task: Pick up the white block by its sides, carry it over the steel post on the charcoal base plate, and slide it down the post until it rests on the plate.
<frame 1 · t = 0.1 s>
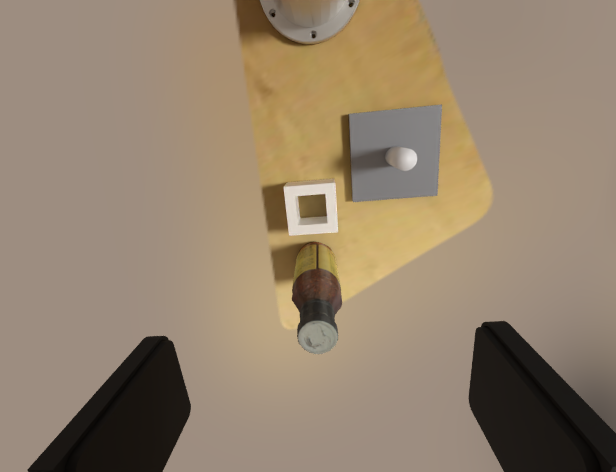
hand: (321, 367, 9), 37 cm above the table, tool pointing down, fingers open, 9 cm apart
white block: (312, 203, 45), on the table
sauce bottle: (317, 257, 48), on the table
post base: (393, 155, 42), on the table
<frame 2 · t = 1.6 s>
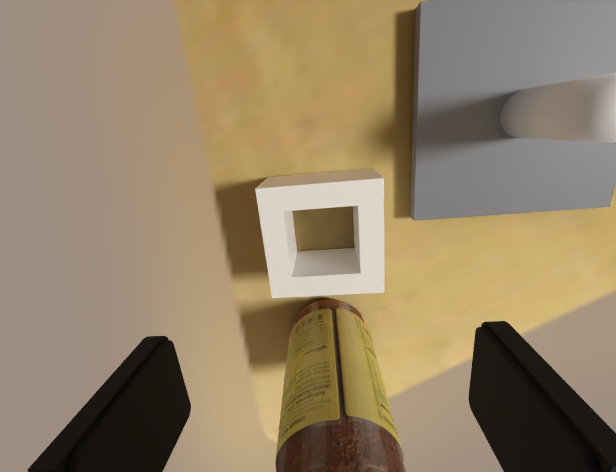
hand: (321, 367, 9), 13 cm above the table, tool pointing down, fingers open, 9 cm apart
white block: (323, 222, 21), on the table
sauce bottle: (331, 326, 24), on the table
post base: (513, 114, 18), on the table
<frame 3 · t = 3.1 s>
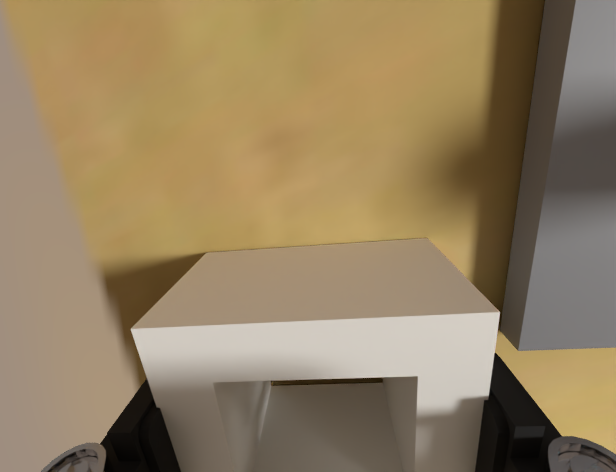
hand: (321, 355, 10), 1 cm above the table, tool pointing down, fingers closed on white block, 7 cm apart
white block: (321, 337, 10), on the table, touching gripper
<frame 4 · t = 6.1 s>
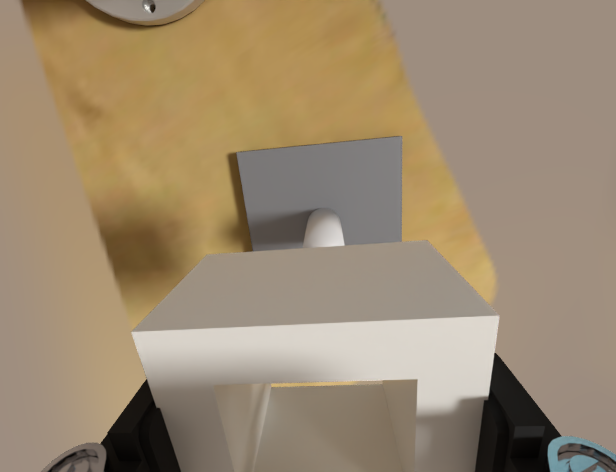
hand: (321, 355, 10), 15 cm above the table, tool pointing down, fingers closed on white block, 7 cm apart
white block: (321, 339, 11), point 15 cm above the table, touching gripper
post base: (323, 220, 24), on the table
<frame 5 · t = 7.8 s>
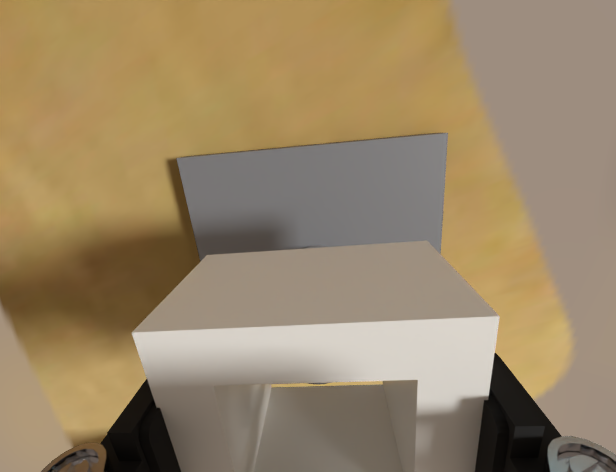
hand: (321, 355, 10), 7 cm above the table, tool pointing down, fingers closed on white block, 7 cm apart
white block: (322, 339, 11), point 6 cm above the table, touching gripper
post base: (318, 260, 16), on the table
when the fingers open (3 cm above the table, at t = 9.1 s): white block stays where it is, resting on post base.
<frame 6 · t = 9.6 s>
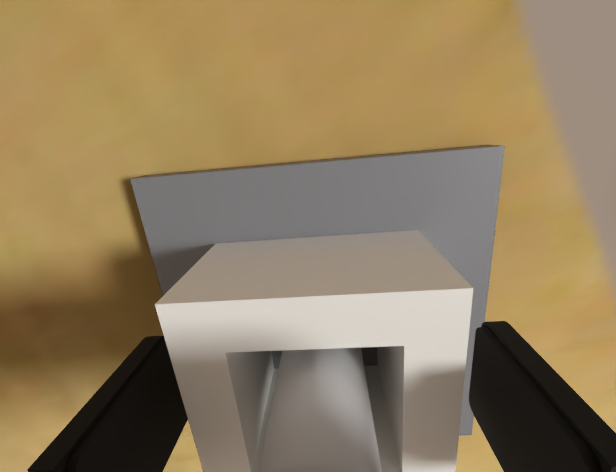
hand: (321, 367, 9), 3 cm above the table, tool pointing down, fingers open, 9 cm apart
white block: (321, 323, 11), point 1 cm above the table, touching post base
post base: (322, 308, 12), on the table
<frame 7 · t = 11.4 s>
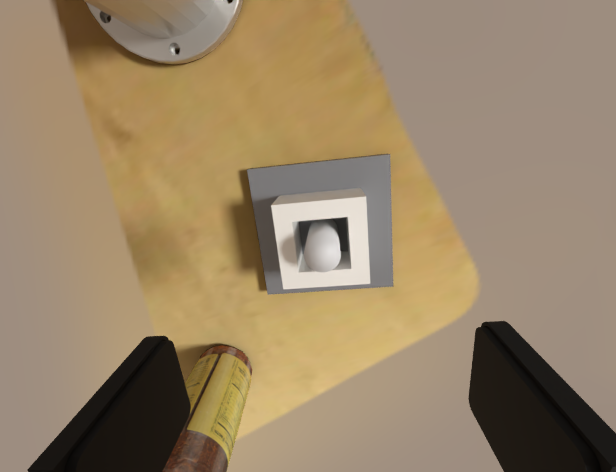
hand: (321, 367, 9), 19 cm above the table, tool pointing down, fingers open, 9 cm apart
white block: (323, 230, 27), point 1 cm above the table, touching post base
sauce bottle: (229, 363, 33), on the table
post base: (323, 227, 28), on the table
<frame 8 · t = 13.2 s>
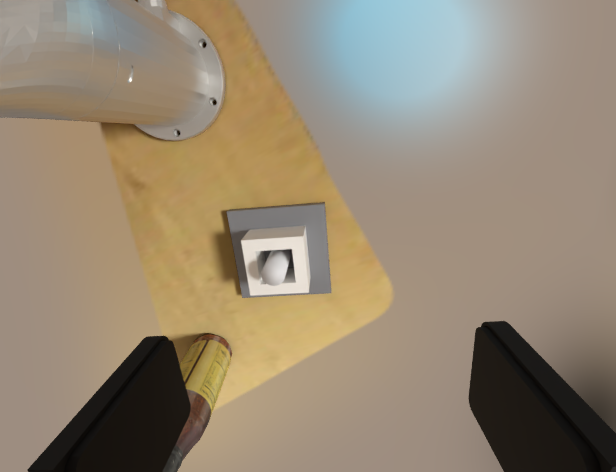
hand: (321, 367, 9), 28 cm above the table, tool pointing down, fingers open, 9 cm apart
white block: (280, 253, 38), point 1 cm above the table, touching post base
sauce bottle: (215, 348, 45), on the table
post base: (281, 251, 39), on the table
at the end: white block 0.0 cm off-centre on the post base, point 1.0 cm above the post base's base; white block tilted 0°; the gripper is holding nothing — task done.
